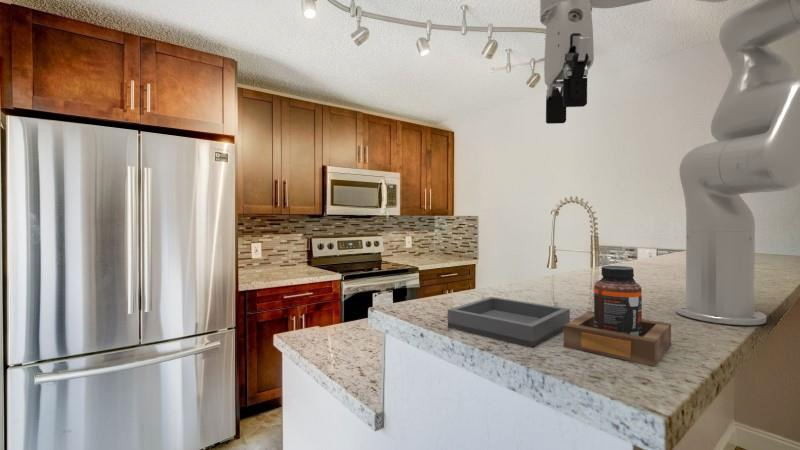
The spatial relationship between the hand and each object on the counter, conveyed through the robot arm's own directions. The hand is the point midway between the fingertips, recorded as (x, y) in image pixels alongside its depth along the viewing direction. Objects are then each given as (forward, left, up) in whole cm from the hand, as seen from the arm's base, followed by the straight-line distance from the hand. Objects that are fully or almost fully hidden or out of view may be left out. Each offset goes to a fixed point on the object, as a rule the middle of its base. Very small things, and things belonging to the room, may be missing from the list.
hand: (564, 115), depth 60 cm
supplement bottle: (+1, +8, -35) cm, 36 cm away
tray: (+3, -8, -35) cm, 36 cm away
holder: (+1, +8, -35) cm, 36 cm away
